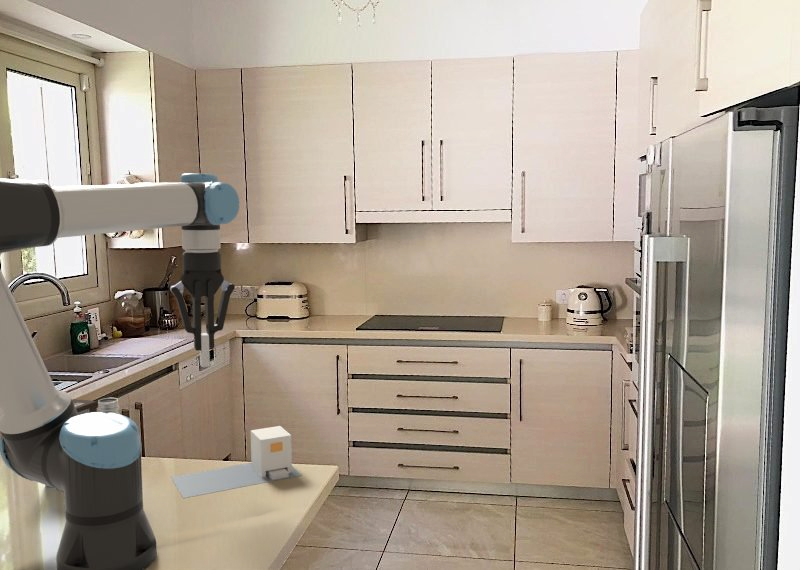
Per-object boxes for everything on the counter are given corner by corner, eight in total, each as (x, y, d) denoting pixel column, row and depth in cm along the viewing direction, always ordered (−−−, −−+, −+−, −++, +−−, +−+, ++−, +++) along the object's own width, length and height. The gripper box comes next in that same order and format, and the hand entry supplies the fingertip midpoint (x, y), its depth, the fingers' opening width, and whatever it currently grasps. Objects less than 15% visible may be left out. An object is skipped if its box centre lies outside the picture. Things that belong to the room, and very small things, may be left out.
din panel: (302, 482, 154) (302, 470, 154) (183, 505, 143) (183, 493, 142) (282, 463, 164) (282, 452, 164) (171, 484, 153) (170, 472, 153)
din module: (292, 472, 155) (291, 435, 154) (262, 478, 152) (261, 440, 151) (281, 461, 161) (280, 425, 160) (251, 466, 158) (250, 430, 157)
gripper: (229, 248, 157) (232, 359, 160) (165, 250, 152) (169, 364, 154) (238, 251, 150) (240, 366, 153) (171, 252, 145) (175, 372, 148)
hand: (204, 365), depth 154 cm, fingers closed
